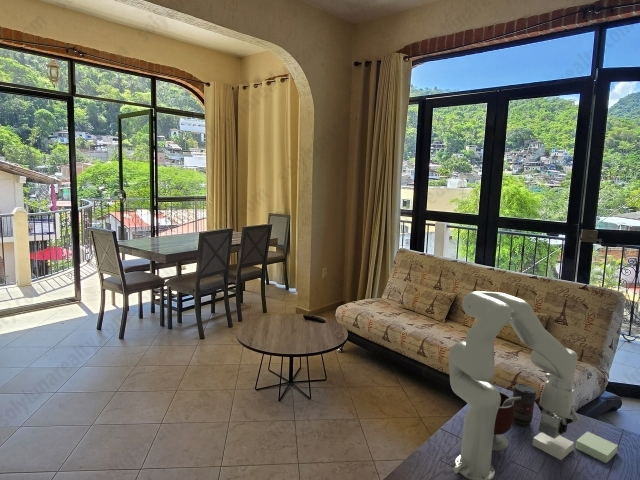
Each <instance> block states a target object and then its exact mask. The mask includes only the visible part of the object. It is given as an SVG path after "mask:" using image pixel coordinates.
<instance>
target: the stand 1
mask: <svg viewBox="0 0 640 480" xmlns="http://www.w3.org/2000/svg"><path fill="white" fill-rule="evenodd" d="M532 439H533V440H532V446H534V447H535V448H537V449H539V450H541V451H543V452H544V453H546V454H548V455H550V456H552V457H554V458H555V459H558V460H560V461H563V459H564V458H565V457H567V456H568V455H569V454H570V453H571V452H573V450H574V446H575V442H574V441H572V440H570V439H568V438H566V437H563V436H562V435H559V436H558V437H556V438H555V439H554V438H552V437H550V436H548V435H546V434H544V433H542V432H540V433H538V434H537V435H535V436H533V438H532Z"/></svg>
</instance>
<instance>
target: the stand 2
mask: <svg viewBox="0 0 640 480" xmlns="http://www.w3.org/2000/svg"><path fill="white" fill-rule="evenodd" d="M618 447H619V446H618V444H616V443H613V442H612V441H609V440H607V439H606V438H604V437H603V438H602V437H601V436H598V435H596V434H594V433H592V432H590V431H588V430H587V431H586V432H585V433H584V434H582V435H581V436H580V437H579V438H577V440H576V441H575V449H577V450H579V451H581V452H583V453H585V454H587V455H589V456H590V457H593V458H595V459H596V460H599V461H601V462H603V463H604V464H607V463H608V462H609V461H610V460H611V459H613V457H614V456H615V455H616V454H617V453H618Z"/></svg>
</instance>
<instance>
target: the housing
mask: <svg viewBox="0 0 640 480" xmlns="http://www.w3.org/2000/svg"><path fill="white" fill-rule="evenodd" d="M541 418H542V420H541V419H540V422H539V426H538V431H539V432H540V433H541V432H542V433H544V434H546V435H548V436H550V437H552V438H554V439H555V438H556V437H558V436H559V435H560V436H562V434H560V433H559V432H560V426H561V423H562V417H561V416H559V415H556V414H554V413H552V412H550V411H548V410H546V411H544V412H543V414H541Z"/></svg>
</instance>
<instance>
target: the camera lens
mask: <svg viewBox="0 0 640 480" xmlns="http://www.w3.org/2000/svg"><path fill="white" fill-rule="evenodd" d="M536 391H537V390H536V389H535V388H534V387H532V386H530V385H528V384H524V383H517V384H516V383H515V385H514V387H513V390H512V397H521V399H518V400H515V401H514V412H515V413H514V420H513V423H512V424H515V425H516V426H518V427H523V428H527V427H530V426H531V423H532V421H533V418H534V417H533V416H534V407H535V404H536V402H535V400H536V399H537V398H536V397H537V392H536Z"/></svg>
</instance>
